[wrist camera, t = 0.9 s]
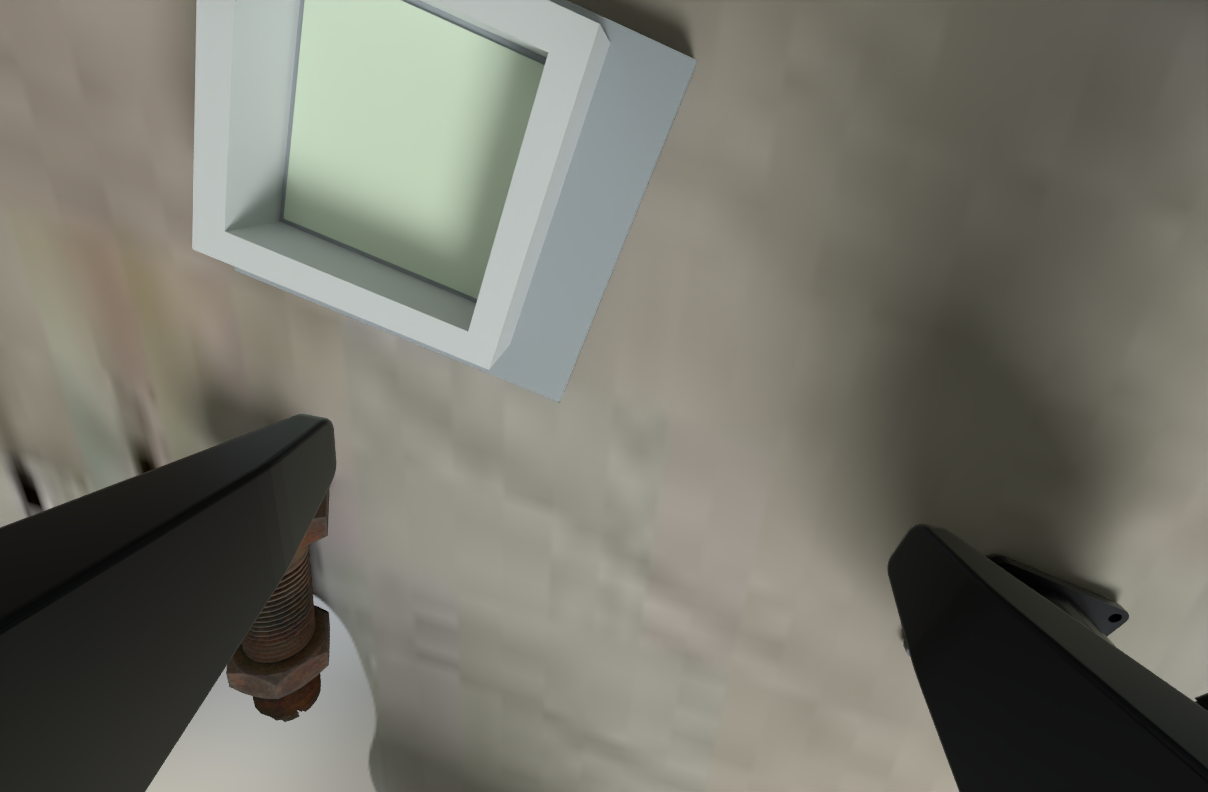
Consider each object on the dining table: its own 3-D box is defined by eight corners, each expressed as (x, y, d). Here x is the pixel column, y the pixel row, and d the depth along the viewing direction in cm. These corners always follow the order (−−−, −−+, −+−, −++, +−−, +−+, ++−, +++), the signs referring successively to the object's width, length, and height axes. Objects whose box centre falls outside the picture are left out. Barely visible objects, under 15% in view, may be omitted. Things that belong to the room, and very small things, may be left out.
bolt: (317, 635, 32) (299, 442, 25) (363, 690, 30) (358, 495, 23) (209, 703, 28) (151, 491, 21) (253, 773, 26) (205, 563, 19)
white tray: (695, 65, 16) (702, 44, 12) (564, 391, 21) (545, 434, 18) (282, -125, 15) (178, -200, 12) (253, 264, 20) (176, 286, 17)
